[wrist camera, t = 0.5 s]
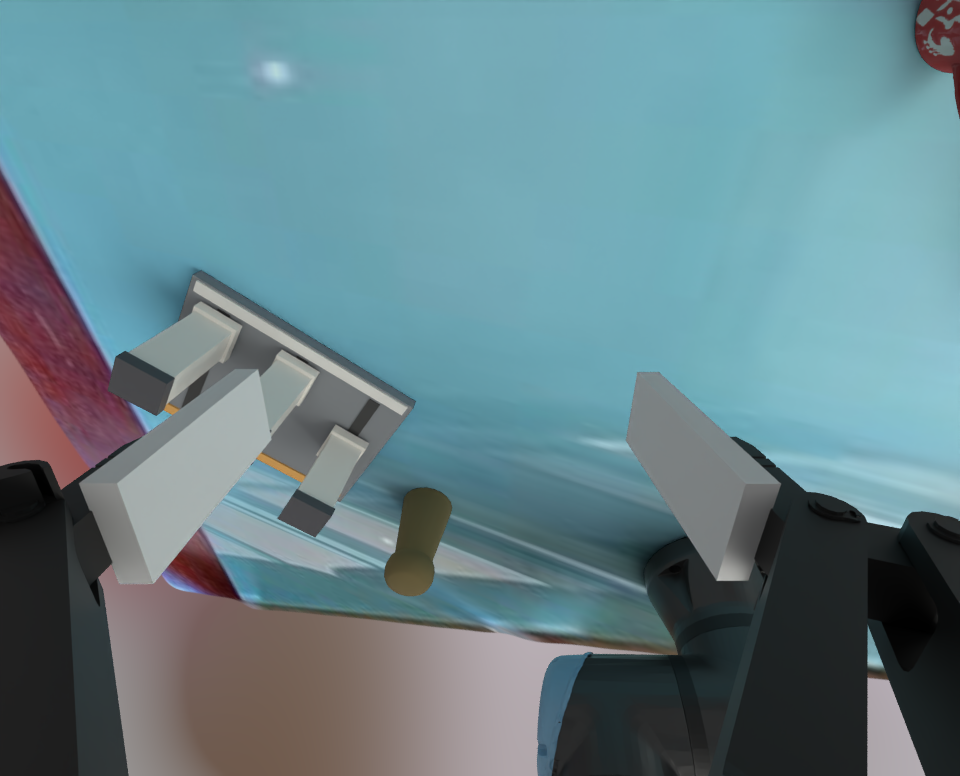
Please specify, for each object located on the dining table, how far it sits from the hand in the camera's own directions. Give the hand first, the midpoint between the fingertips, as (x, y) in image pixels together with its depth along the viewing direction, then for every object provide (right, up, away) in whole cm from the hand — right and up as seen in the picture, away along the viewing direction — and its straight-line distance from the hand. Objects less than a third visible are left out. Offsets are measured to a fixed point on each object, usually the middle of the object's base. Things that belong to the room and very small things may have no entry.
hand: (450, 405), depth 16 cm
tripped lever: (-14, -6, +33) cm, 36 cm away
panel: (-20, -1, +32) cm, 38 cm away
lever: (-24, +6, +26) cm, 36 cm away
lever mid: (-17, +2, +28) cm, 33 cm away
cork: (-5, -14, +39) cm, 42 cm away
